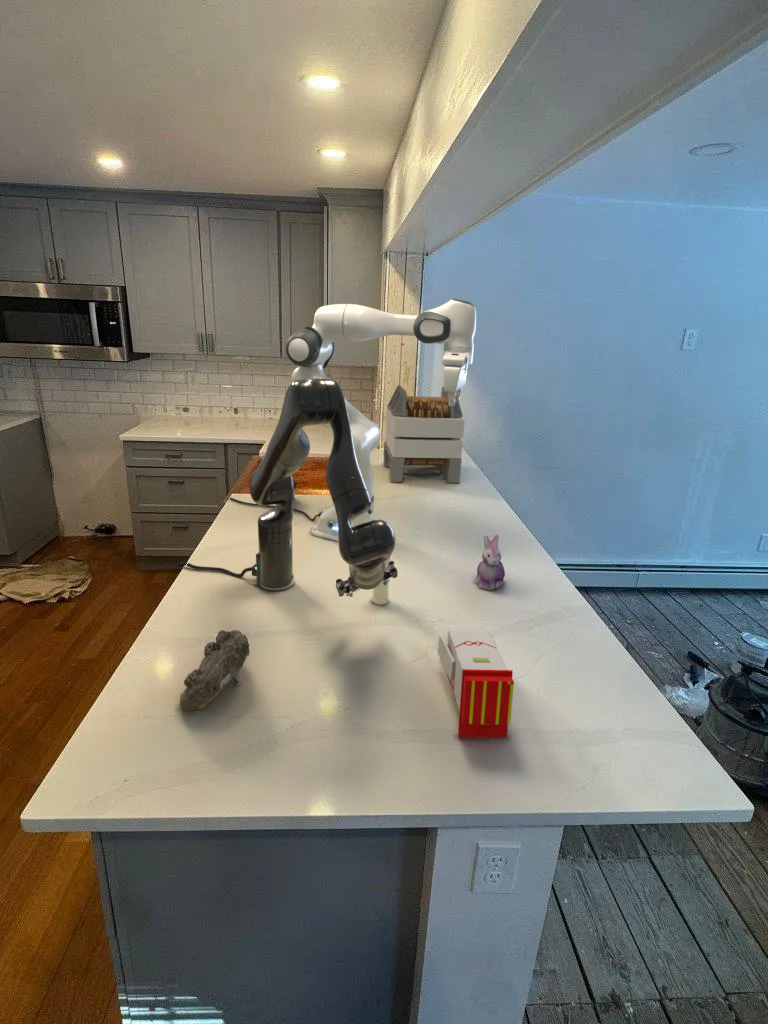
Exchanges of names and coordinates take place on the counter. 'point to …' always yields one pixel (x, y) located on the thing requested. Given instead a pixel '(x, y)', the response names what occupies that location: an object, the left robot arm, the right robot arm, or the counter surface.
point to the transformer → (423, 434)
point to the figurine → (490, 565)
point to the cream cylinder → (381, 591)
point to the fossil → (215, 669)
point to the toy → (478, 682)
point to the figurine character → (294, 489)
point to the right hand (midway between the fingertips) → (454, 403)
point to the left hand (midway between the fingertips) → (366, 587)
